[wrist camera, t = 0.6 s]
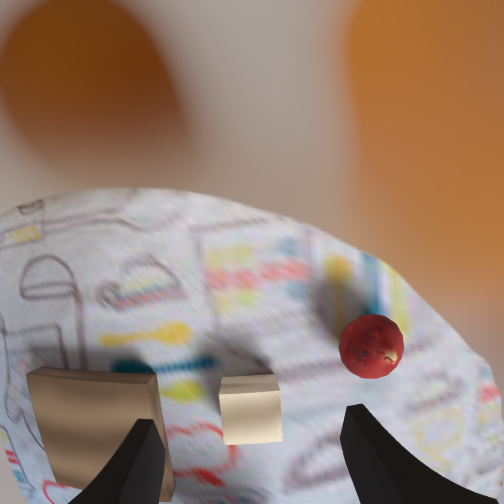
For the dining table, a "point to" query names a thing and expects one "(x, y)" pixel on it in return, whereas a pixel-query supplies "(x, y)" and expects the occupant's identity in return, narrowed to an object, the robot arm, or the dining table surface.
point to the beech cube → (250, 409)
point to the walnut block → (93, 419)
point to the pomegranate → (371, 346)
